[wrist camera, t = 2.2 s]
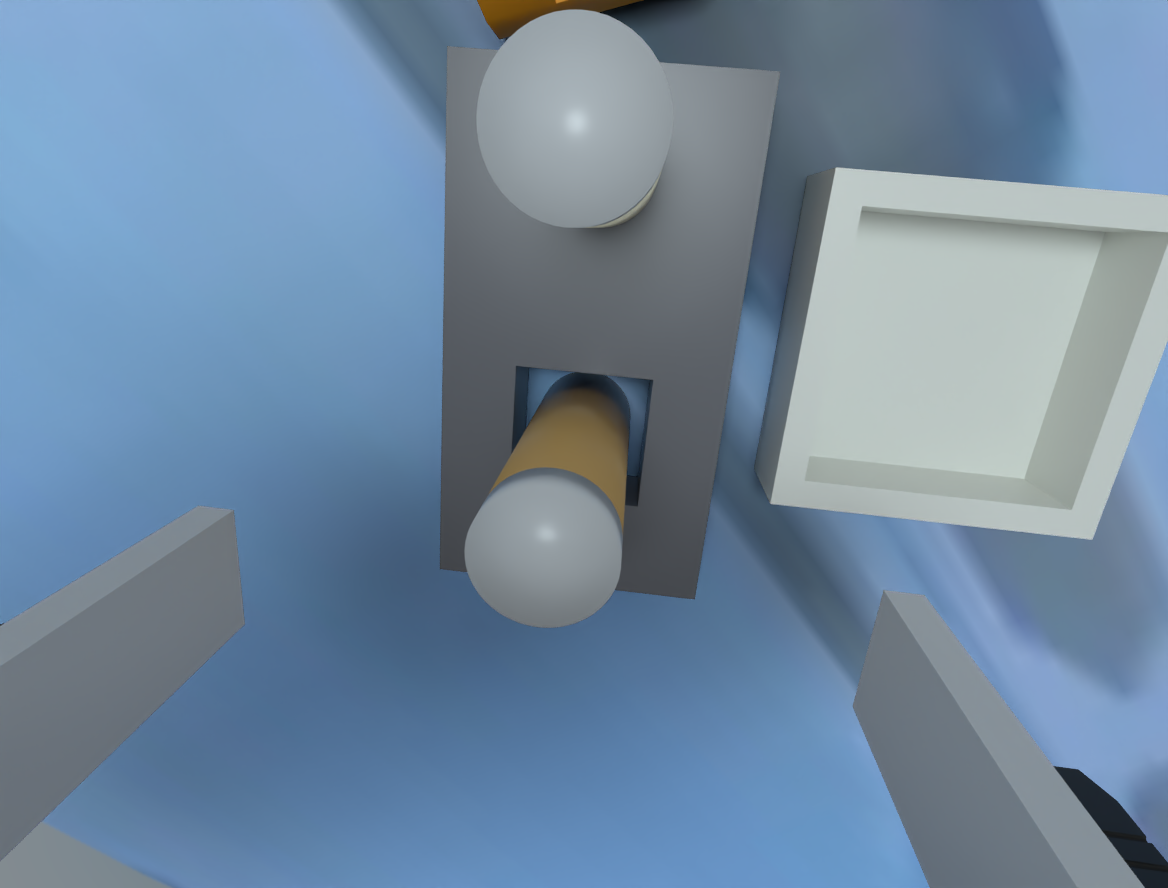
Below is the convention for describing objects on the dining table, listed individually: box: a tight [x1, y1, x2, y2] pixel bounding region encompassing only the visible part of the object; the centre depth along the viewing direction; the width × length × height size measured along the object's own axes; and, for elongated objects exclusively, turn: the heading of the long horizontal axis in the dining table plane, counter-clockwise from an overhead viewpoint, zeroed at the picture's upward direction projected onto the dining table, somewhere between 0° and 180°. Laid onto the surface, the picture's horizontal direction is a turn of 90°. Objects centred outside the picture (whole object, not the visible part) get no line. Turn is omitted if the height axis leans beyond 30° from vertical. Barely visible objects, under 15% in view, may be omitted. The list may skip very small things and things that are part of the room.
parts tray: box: [754, 168, 1168, 540], centre depth 22 cm, size 11×11×4 cm
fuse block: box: [440, 10, 780, 599], centre depth 19 cm, size 18×10×12 cm, turn 175°
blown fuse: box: [464, 372, 630, 628], centre depth 20 cm, size 4×4×12 cm
